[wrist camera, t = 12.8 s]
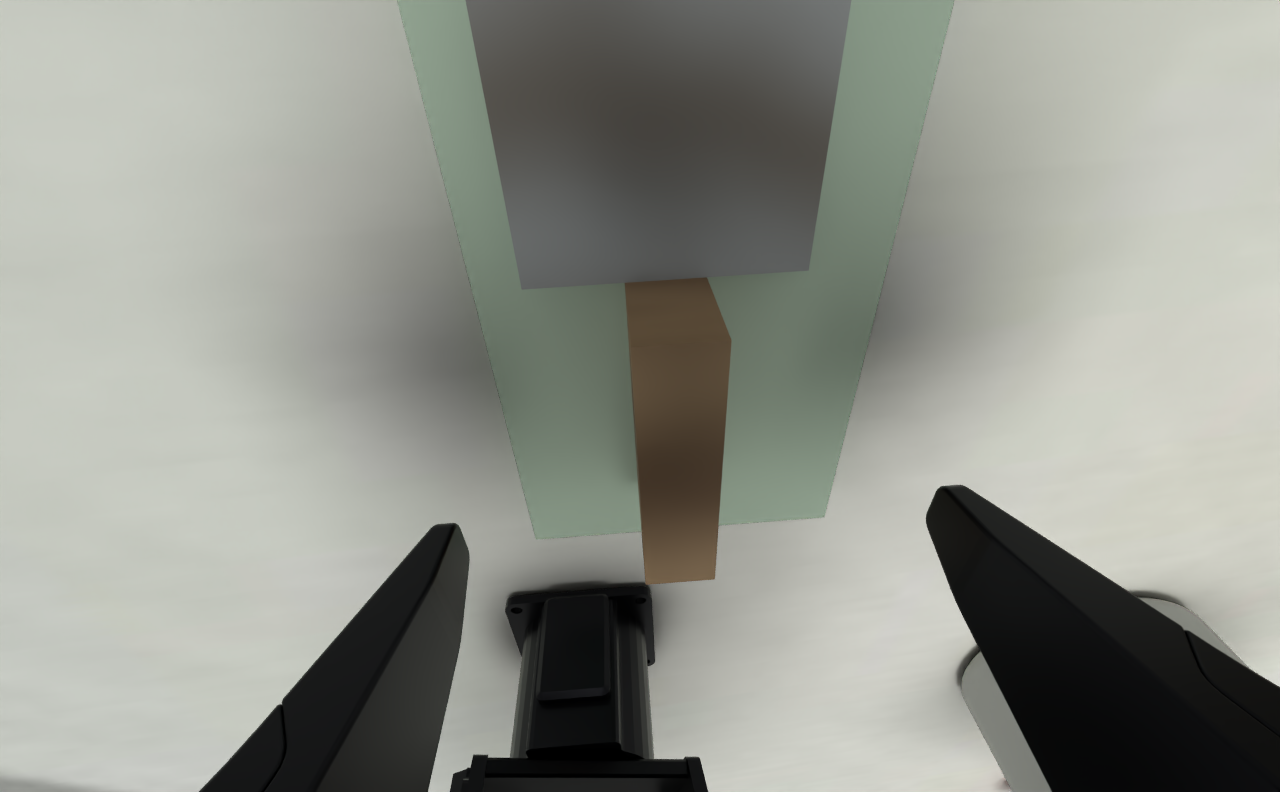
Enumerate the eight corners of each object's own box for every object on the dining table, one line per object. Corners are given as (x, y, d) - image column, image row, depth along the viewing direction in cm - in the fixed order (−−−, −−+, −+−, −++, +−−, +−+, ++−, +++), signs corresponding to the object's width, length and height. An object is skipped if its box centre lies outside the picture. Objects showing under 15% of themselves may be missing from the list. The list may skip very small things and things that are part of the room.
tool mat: (815, 497, 21) (824, 517, 20) (538, 518, 21) (535, 539, 20) (962, -145, 10) (993, -157, 9) (383, -116, 10) (364, -126, 9)
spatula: (765, 473, 18) (800, 572, 15) (566, 488, 18) (558, 591, 15) (838, -47, 10) (950, -71, 7) (470, -28, 10) (408, -44, 7)
